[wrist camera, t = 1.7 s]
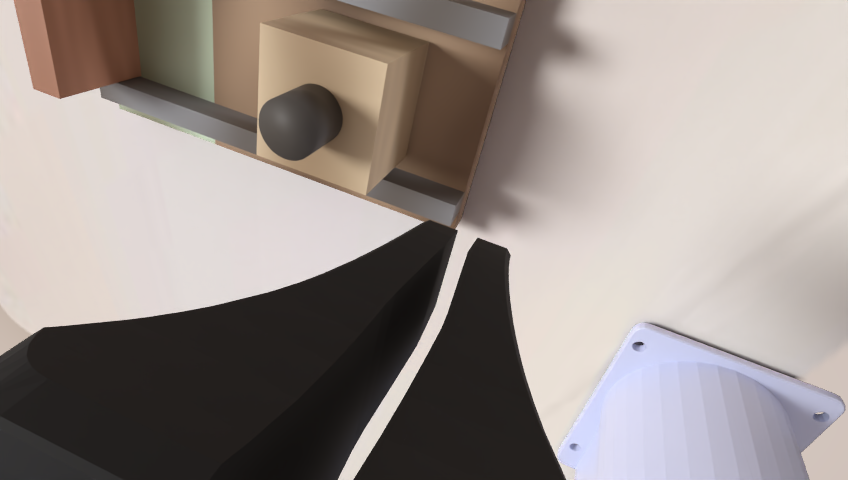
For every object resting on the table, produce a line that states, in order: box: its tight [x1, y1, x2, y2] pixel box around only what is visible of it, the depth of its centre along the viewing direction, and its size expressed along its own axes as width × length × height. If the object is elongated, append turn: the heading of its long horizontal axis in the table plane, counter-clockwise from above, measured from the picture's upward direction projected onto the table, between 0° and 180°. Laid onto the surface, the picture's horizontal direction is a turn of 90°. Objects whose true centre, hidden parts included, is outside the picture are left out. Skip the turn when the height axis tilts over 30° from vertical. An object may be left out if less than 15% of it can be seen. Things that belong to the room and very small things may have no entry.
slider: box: [257, 9, 430, 195], centre depth 16 cm, size 4×4×5 cm
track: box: [14, 0, 526, 229], centre depth 18 cm, size 16×9×5 cm, turn 77°
